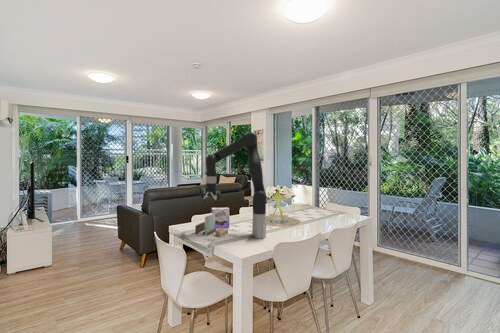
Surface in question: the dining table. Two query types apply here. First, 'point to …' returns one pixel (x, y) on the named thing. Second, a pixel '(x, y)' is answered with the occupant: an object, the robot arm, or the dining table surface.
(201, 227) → the walnut rack
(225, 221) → the candy box
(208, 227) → the sage sheet
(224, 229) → the offcut top
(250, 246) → the dining table surface
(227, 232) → the board
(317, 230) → the dining table surface
